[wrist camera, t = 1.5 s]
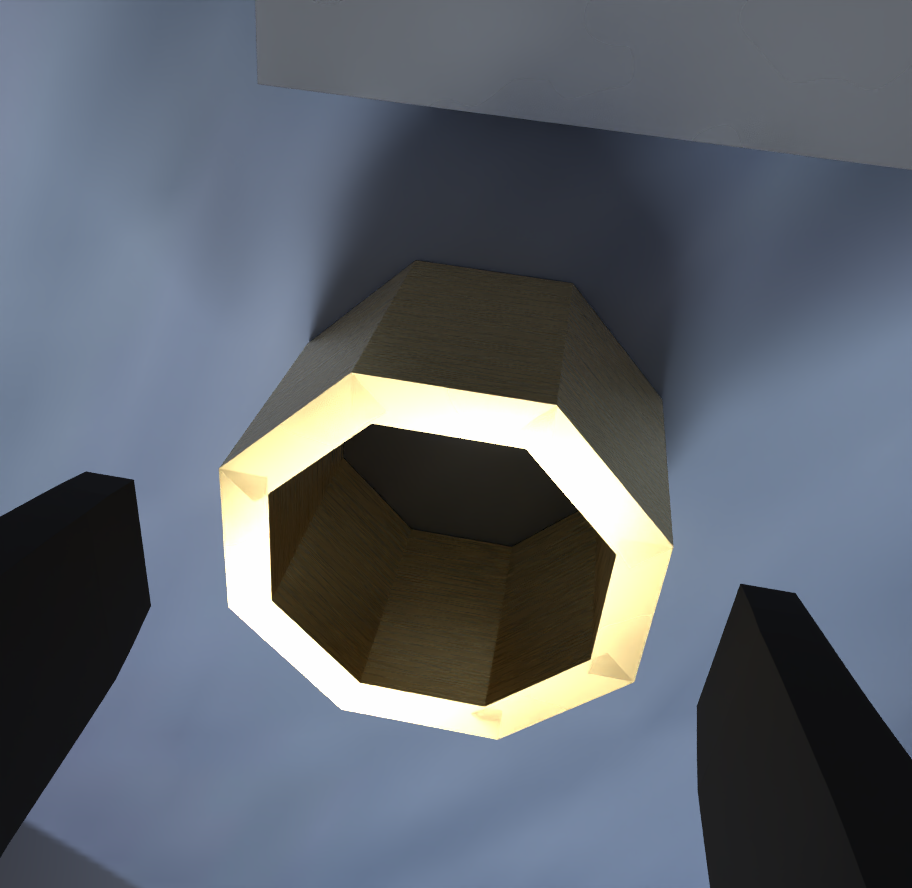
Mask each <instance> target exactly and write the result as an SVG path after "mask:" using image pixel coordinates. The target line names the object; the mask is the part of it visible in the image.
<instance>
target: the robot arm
mask: <svg viewBox="0 0 912 888" xmlns="http://www.w3.org/2000/svg"><path fill="white" fill-rule="evenodd" d="M150 607H151V603H150V595H149V588H148V580H147V573H146V566H145V558H144V551H143V544H142V536H141V529H140V522H139V514H138V507H137V499H136V492H135V485H134V480H132V479H126V478H120V477H115V476H109V475H103V474H97V473H91V472H84V473H82V474H80V475H78V476H76V477H74V478H72V479H70V480H67V481H66V482H64V483H62V484H60V485H58V486H56V487H54V488H52V489H50V490H48V491H46V492H45V493H43V494H41V495H39V496H37V497H35V498H34V499H32V500H30V501H28V502H26V503H24V504H23V505H21V506H19V507H17V508H15V509H13V510H12V511H10V512H8V513H6V514H4V515H3V516H1V517H0V857H1V856H2V854H3V852H4V850H5V849H6V847H7V845H8V844H9V842H10V841H11V839H12V838H13V836H14V835H15V833H16V832H17V830H18V829H19V827H20V826H21V824H22V823H23V821H24V820H25V818H26V816H27V815H28V813H29V812H30V810H31V809H32V807H33V806H34V804H35V803H36V801H37V800H38V798H39V797H40V795H41V794H42V792H43V791H44V789H45V788H46V786H47V785H48V783H49V781H50V780H51V778H52V777H53V775H54V774H55V772H56V771H57V769H58V768H59V766H60V765H61V763H62V762H63V760H64V759H65V757H66V756H67V754H68V753H69V751H70V750H71V748H72V746H73V745H74V743H75V742H76V740H77V739H78V737H79V736H80V734H81V733H82V731H83V730H84V728H85V727H86V725H87V723H88V722H89V720H90V719H91V717H92V716H93V714H94V713H95V711H96V709H97V708H98V706H99V705H100V703H101V702H102V700H103V699H104V697H105V695H106V694H107V692H108V691H109V689H110V688H111V686H112V684H113V683H114V681H115V680H116V678H117V676H118V674H119V672H120V670H121V668H122V666H123V664H124V662H125V660H126V658H127V656H128V654H129V652H130V650H131V648H132V646H133V644H134V641H135V639H136V637H137V635H138V633H139V631H140V628H141V626H142V624H143V622H144V620H145V618H146V615H147V613H148V611H149V609H150ZM697 778H698V796H699V805H700V813H701V821H702V829H703V836H704V844H705V852H706V860H707V867H708V875H709V882H710V888H912V759H911V757H910V756H909V755H908V753H907V752H906V751H905V749H904V748H903V747H902V745H901V744H900V743H899V741H898V740H897V738H896V737H895V736H894V734H893V733H892V732H891V730H890V729H889V728H888V726H887V725H886V723H885V722H884V721H883V719H882V718H881V717H880V715H879V714H878V712H877V711H876V710H875V708H874V707H873V705H872V704H871V703H870V701H869V700H868V698H867V697H866V695H865V694H864V693H863V691H862V690H861V688H860V687H859V685H858V684H857V682H856V681H855V680H854V678H853V677H852V675H851V674H850V672H849V671H848V669H847V668H846V667H845V665H844V664H843V662H842V661H841V659H840V658H839V656H838V655H837V653H836V652H835V650H834V649H833V647H832V646H831V644H830V643H829V642H828V640H827V639H826V637H825V636H824V634H823V633H822V631H821V630H820V628H819V627H818V625H817V624H816V622H815V621H814V619H813V618H812V617H811V615H810V614H809V612H808V611H807V609H806V608H805V606H804V605H803V603H802V602H801V601H800V599H799V598H798V596H797V595H796V593H791V592H786V591H780V590H774V589H768V588H762V587H756V586H751V585H745V584H740V587H739V589H738V592H737V595H736V598H735V601H734V603H733V606H732V609H731V612H730V615H729V617H728V620H727V623H726V626H725V629H724V631H723V634H722V637H721V640H720V643H719V646H718V648H717V651H716V654H715V657H714V660H713V662H712V665H711V668H710V671H709V674H708V676H707V679H706V682H705V685H704V688H703V690H702V693H701V696H700V699H699V702H698V705H697Z"/></svg>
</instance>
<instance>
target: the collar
mask: <svg viewBox="0 0 912 888" xmlns="http://www.w3.org/2000/svg"><path fill="white" fill-rule="evenodd" d="M371 423H372V424H378V425H384V426H390V427H396V428H402V429H408V430H414V431H421V432H427V433H433V434H439V435H445V436H451V437H457V438H463V439H469V440H475V441H481V442H487V443H493V444H500V445H506V446H512V447H518V448H524V449H526V450H527V451H528V452H529V453H530V454H531V455H532V457H533V458H534V459H535V460H536V461H537V462H538V464H539V465H540V466H541V467H542V468H543V469H544V470H545V472H546V473H547V474H548V475H549V476H550V477H551V479H552V480H553V481H554V482H555V483H556V484H557V486H558V487H559V488H560V489H561V490H562V491H563V493H564V494H565V495H566V496H567V497H568V498H569V500H570V501H571V502H572V503H573V504H574V505H575V507H576V508H577V509H578V510H579V511H578V512H576V513H574V514H572V515H570V516H568V517H567V518H565V519H563V520H561V521H559V522H557V523H555V524H554V525H552V526H550V527H548V528H546V529H544V530H542V531H541V532H539V533H537V534H535V535H533V536H531V537H529V538H528V539H526V540H524V541H522V542H520V543H518V544H517V545H515V546H513V547H510V546H504V545H499V544H493V543H487V542H482V541H476V540H470V539H464V538H459V537H453V536H447V535H441V534H436V533H430V532H424V531H419V530H413V529H411V528H410V527H409V526H408V525H407V524H406V523H405V522H404V521H403V520H402V519H401V518H400V517H399V516H398V515H397V514H396V512H395V511H394V510H393V509H392V508H391V507H390V506H389V505H388V504H387V503H386V502H385V501H384V500H383V499H382V498H381V497H380V496H379V495H378V494H377V493H376V492H375V491H374V490H373V488H372V487H371V486H370V485H369V484H368V483H367V482H366V481H365V480H364V479H363V478H362V477H361V476H360V475H359V474H358V473H357V472H356V471H355V470H354V469H353V468H352V467H351V466H350V464H349V463H348V462H347V461H346V460H345V459H344V458H343V444H344V442H345V441H346V440H348V439H349V438H351V437H352V436H354V435H355V434H357V433H358V432H360V431H361V430H363V429H364V428H366V427H367V426H368V425H370V424H371ZM219 475H220V490H221V505H222V520H223V534H224V549H225V564H226V579H227V593H228V607H229V608H230V609H231V610H233V611H234V612H235V613H236V614H237V615H238V616H239V617H240V618H241V619H243V620H244V621H245V622H246V623H247V624H248V625H249V626H250V627H251V628H252V629H254V630H255V631H256V632H257V633H258V634H259V635H260V636H261V637H262V638H263V639H265V640H266V641H267V642H268V643H269V644H270V645H271V646H272V647H273V648H275V649H276V650H277V651H278V652H279V653H280V654H281V655H282V656H283V657H284V658H286V659H287V660H288V661H289V662H290V663H291V664H292V665H293V666H294V667H295V668H297V669H298V670H299V671H300V672H301V673H302V674H303V675H304V676H305V677H307V678H308V679H309V680H310V681H311V682H312V683H313V684H314V685H315V686H316V687H318V688H319V689H320V690H321V691H322V692H323V693H324V694H325V695H326V696H328V697H329V698H330V699H331V700H332V701H333V702H334V703H335V704H336V705H337V706H339V707H340V708H341V709H343V710H349V711H354V712H359V713H364V714H369V715H374V716H379V717H385V718H390V719H395V720H400V721H405V722H410V723H415V724H421V725H426V726H431V727H436V728H441V729H446V730H452V731H457V732H462V733H467V734H472V735H477V736H482V737H488V738H493V739H500V738H502V737H505V736H507V735H509V734H512V733H514V732H516V731H519V730H521V729H524V728H526V727H528V726H531V725H533V724H536V723H538V722H540V721H543V720H545V719H547V718H550V717H552V716H555V715H557V714H559V713H562V712H564V711H566V710H569V709H571V708H574V707H576V706H578V705H581V704H583V703H586V702H588V701H590V700H593V699H595V698H597V697H600V696H602V695H605V694H607V693H609V692H612V691H614V690H617V689H619V688H621V687H624V686H626V685H628V684H631V683H633V682H634V681H635V677H636V674H637V670H638V667H639V663H640V660H641V656H642V653H643V649H644V646H645V643H646V639H647V636H648V632H649V629H650V625H651V622H652V618H653V615H654V612H655V608H656V605H657V601H658V598H659V594H660V591H661V587H662V584H663V580H664V577H665V574H666V570H667V567H668V563H669V560H670V556H671V553H672V549H673V536H672V523H671V510H670V496H669V483H668V470H667V457H666V444H665V431H664V418H663V404H662V399H661V397H660V396H659V395H658V394H657V392H656V391H655V390H654V388H653V387H652V386H651V384H650V383H649V382H648V381H647V379H646V378H645V377H644V375H643V374H642V373H641V371H640V370H639V369H638V368H637V366H636V365H635V364H634V362H633V361H632V360H631V358H630V357H629V356H628V355H627V353H626V352H625V351H624V349H623V348H622V347H621V345H620V344H619V343H618V342H617V340H616V339H615V338H614V336H613V335H612V334H611V332H610V331H609V330H608V329H607V327H606V326H605V325H604V323H603V322H602V321H601V319H600V318H599V317H598V315H597V314H596V313H595V312H594V310H593V309H592V308H591V306H590V305H589V304H588V302H587V301H586V300H585V299H584V297H583V296H582V295H581V293H580V292H579V291H578V289H577V288H576V287H575V286H574V284H573V283H566V282H560V281H553V280H546V279H539V278H533V277H526V276H519V275H512V274H505V273H499V272H492V271H485V270H478V269H471V268H465V267H458V266H451V265H444V264H437V263H431V262H424V261H417V260H416V261H414V262H413V263H412V264H410V265H409V266H408V267H406V268H405V269H404V270H403V271H401V272H400V273H399V274H397V275H396V276H395V277H393V278H392V279H391V280H390V281H388V282H387V283H386V284H384V285H383V286H382V287H381V288H379V289H378V290H377V291H375V292H374V293H373V294H371V295H370V296H369V297H368V298H366V299H365V300H364V301H362V302H361V303H360V304H359V305H357V306H356V307H355V308H353V309H352V310H351V311H349V312H348V313H347V314H346V315H344V316H343V317H342V318H340V319H339V320H338V321H337V322H335V323H334V324H333V325H331V326H330V327H329V328H327V329H326V330H325V331H324V332H322V333H321V334H320V335H318V336H317V337H316V338H314V339H313V340H312V341H311V342H309V343H308V344H307V345H306V347H305V348H304V350H303V351H302V352H301V354H300V355H299V357H298V358H297V359H296V361H295V362H294V364H293V365H292V366H291V368H290V369H289V371H288V372H287V374H286V375H285V376H284V378H283V379H282V381H281V382H280V383H279V385H278V386H277V388H276V389H275V390H274V392H273V393H272V395H271V396H270V397H269V399H268V400H267V402H266V403H265V405H264V406H263V407H262V409H261V410H260V412H259V413H258V414H257V416H256V417H255V419H254V420H253V421H252V423H251V424H250V426H249V427H248V428H247V430H246V431H245V433H244V434H243V436H242V437H241V438H240V440H239V441H238V443H237V444H236V445H235V447H234V448H233V450H232V451H231V452H230V454H229V455H228V457H227V458H226V459H225V461H224V462H223V464H222V465H221V467H220V468H219Z"/></svg>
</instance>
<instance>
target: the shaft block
mask: <svg viewBox="0 0 912 888" xmlns="http://www.w3.org/2000/svg"><path fill="white" fill-rule="evenodd" d="M255 8H256V41H257V75H258V84H261V85H269V86H276V87H284V88H291V89H299V90H307V91H314V92H322V93H330V94H337V95H345V96H352V97H360V98H368V99H375V100H383V101H390V102H398V103H406V104H413V105H421V106H429V107H436V108H444V109H451V110H459V111H467V112H474V113H482V114H489V115H497V116H505V117H512V118H520V119H528V120H535V121H543V122H550V123H558V124H566V125H573V126H581V127H588V128H596V129H604V130H611V131H619V132H627V133H634V134H642V135H649V136H657V137H665V138H672V139H680V140H687V141H695V142H703V143H710V144H718V145H726V146H733V147H741V148H748V149H756V150H764V151H771V152H779V153H786V154H794V155H802V156H809V157H817V158H825V159H832V160H840V161H847V162H855V163H863V164H870V165H878V166H885V167H893V168H901V169H908V170H912V0H255Z"/></svg>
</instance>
